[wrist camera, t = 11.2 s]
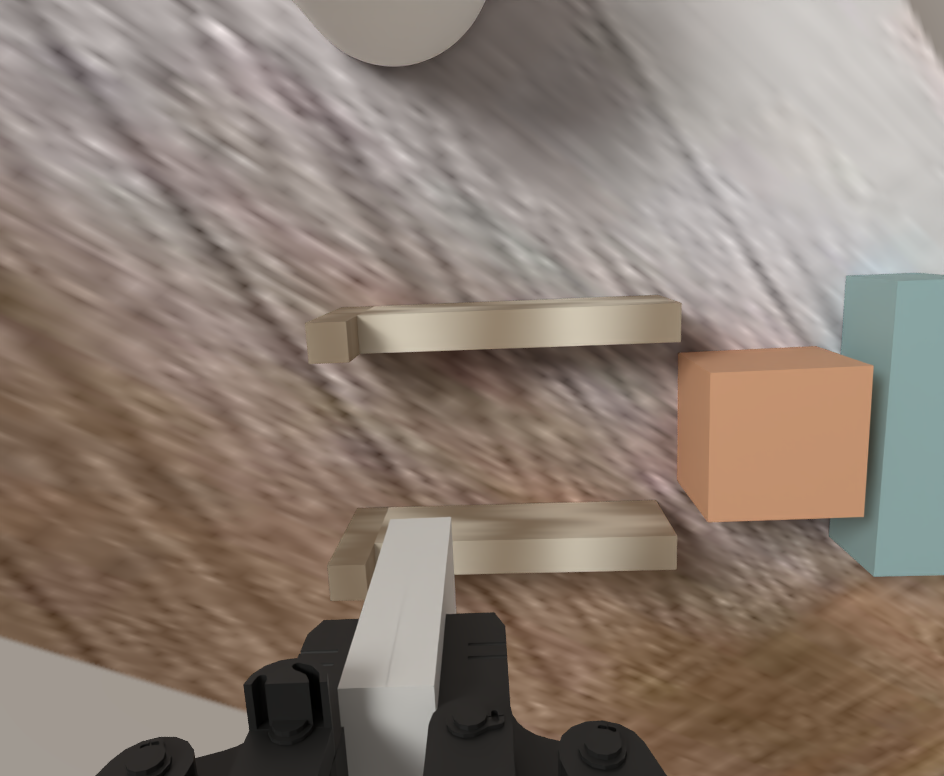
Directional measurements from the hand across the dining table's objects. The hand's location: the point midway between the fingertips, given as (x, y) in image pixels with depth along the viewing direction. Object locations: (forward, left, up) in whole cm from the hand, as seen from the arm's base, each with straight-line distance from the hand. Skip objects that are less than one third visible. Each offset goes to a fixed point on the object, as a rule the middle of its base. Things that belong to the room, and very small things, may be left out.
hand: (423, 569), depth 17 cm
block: (+13, 0, -15) cm, 20 cm away
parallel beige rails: (+2, 0, -15) cm, 15 cm away
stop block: (+19, 0, -15) cm, 24 cm away
